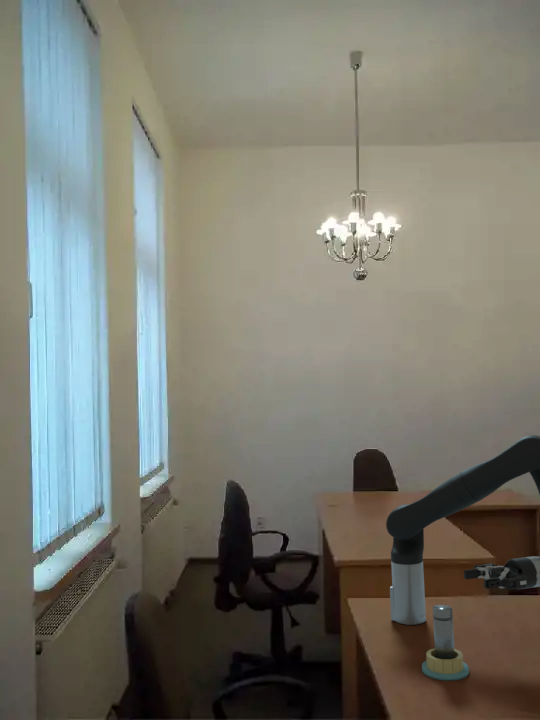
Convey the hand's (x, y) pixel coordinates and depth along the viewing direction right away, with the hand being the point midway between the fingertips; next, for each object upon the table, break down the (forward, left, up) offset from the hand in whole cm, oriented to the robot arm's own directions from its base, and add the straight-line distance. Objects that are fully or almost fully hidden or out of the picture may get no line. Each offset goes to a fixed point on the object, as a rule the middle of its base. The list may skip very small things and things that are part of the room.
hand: (474, 579), depth 175 cm
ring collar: (-5, -10, -20) cm, 23 cm away
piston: (-5, -9, -19) cm, 22 cm away
